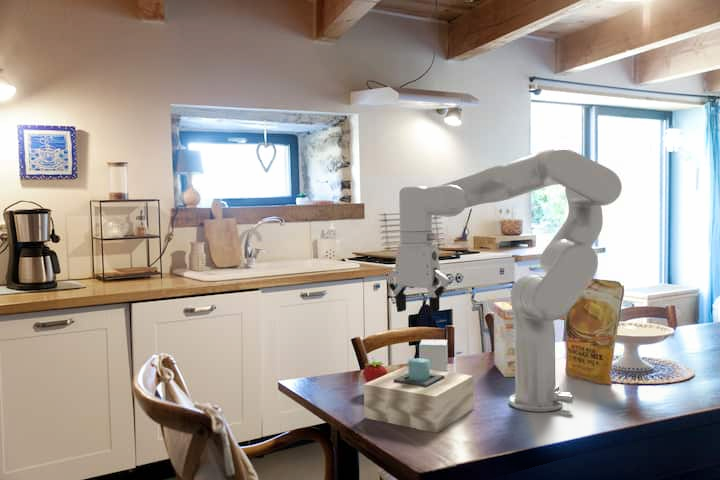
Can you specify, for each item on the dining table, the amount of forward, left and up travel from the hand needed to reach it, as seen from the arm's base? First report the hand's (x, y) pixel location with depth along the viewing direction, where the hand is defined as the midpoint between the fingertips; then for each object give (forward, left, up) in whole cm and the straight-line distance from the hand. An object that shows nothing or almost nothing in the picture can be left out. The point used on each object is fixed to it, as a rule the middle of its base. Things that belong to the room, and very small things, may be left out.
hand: (417, 312), depth 147 cm
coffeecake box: (-4, -47, -24) cm, 53 cm away
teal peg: (0, 0, -19) cm, 19 cm away
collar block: (0, 0, -24) cm, 24 cm away
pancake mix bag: (-26, -50, -24) cm, 61 cm away
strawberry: (+18, -8, -24) cm, 31 cm away
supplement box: (+7, -20, -24) cm, 32 cm away
